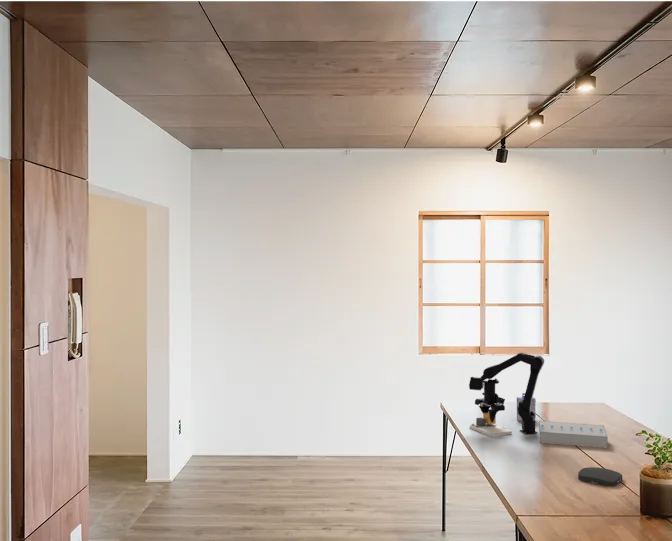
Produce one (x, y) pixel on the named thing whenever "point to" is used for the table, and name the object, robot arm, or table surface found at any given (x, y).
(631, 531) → the table surface
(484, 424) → the block
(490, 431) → the board
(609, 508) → the table surface
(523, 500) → the table surface
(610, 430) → the table surface
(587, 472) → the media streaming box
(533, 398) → the ink cartridge box
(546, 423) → the warehouse
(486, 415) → the cap
